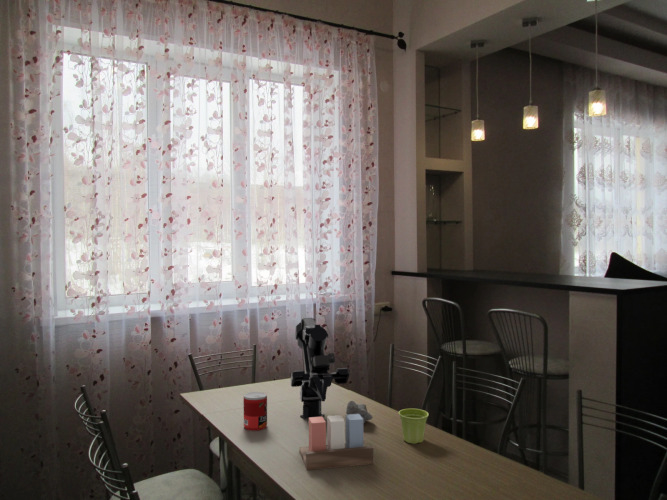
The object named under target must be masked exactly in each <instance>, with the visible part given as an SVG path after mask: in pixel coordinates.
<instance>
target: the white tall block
mask: <svg viewBox="0 0 667 500" xmlns="http://www.w3.org/2000/svg"><path fill="white" fill-rule="evenodd" d="M326 420H327V421H326V426H327V427H326V431H327V433H326V443H327V444H326V445H327V450H332V449H343V448H345V443H346V419H344V418H343V416H342V415H341V414H338V415H327V417H326Z"/></svg>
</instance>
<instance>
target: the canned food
mask: <svg viewBox="0 0 667 500" xmlns="http://www.w3.org/2000/svg"><path fill="white" fill-rule="evenodd" d="M243 426H244V427H243V428H244V429H245V430H247V431H253V432H255V431H257V432H258V431H262V430H265V429H266V428H267V426H268V394H267V393H265V392H262V391H250V392H247V393H245V394H243Z"/></svg>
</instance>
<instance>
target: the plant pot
mask: <svg viewBox="0 0 667 500" xmlns="http://www.w3.org/2000/svg"><path fill="white" fill-rule="evenodd" d="M398 415H399V419H400V422H401V429H402V437H403V441H405V443H408V444H413V445H414V444H418V443H419V444H421V443H423V442H424V439H425V438H424V437H425V431H426V430H425V429H426V423H427V420H428V417H429V412H428V411H426V410H423V409H420V408H404V409H401V410H399V411H398Z"/></svg>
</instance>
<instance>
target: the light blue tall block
mask: <svg viewBox="0 0 667 500" xmlns="http://www.w3.org/2000/svg"><path fill="white" fill-rule="evenodd" d="M345 443H346V448H355V447H365V445H364V423H363V418H362V417H361V416H360V415H359V414H349V415H347V414H345ZM363 445H364V446H363Z"/></svg>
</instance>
